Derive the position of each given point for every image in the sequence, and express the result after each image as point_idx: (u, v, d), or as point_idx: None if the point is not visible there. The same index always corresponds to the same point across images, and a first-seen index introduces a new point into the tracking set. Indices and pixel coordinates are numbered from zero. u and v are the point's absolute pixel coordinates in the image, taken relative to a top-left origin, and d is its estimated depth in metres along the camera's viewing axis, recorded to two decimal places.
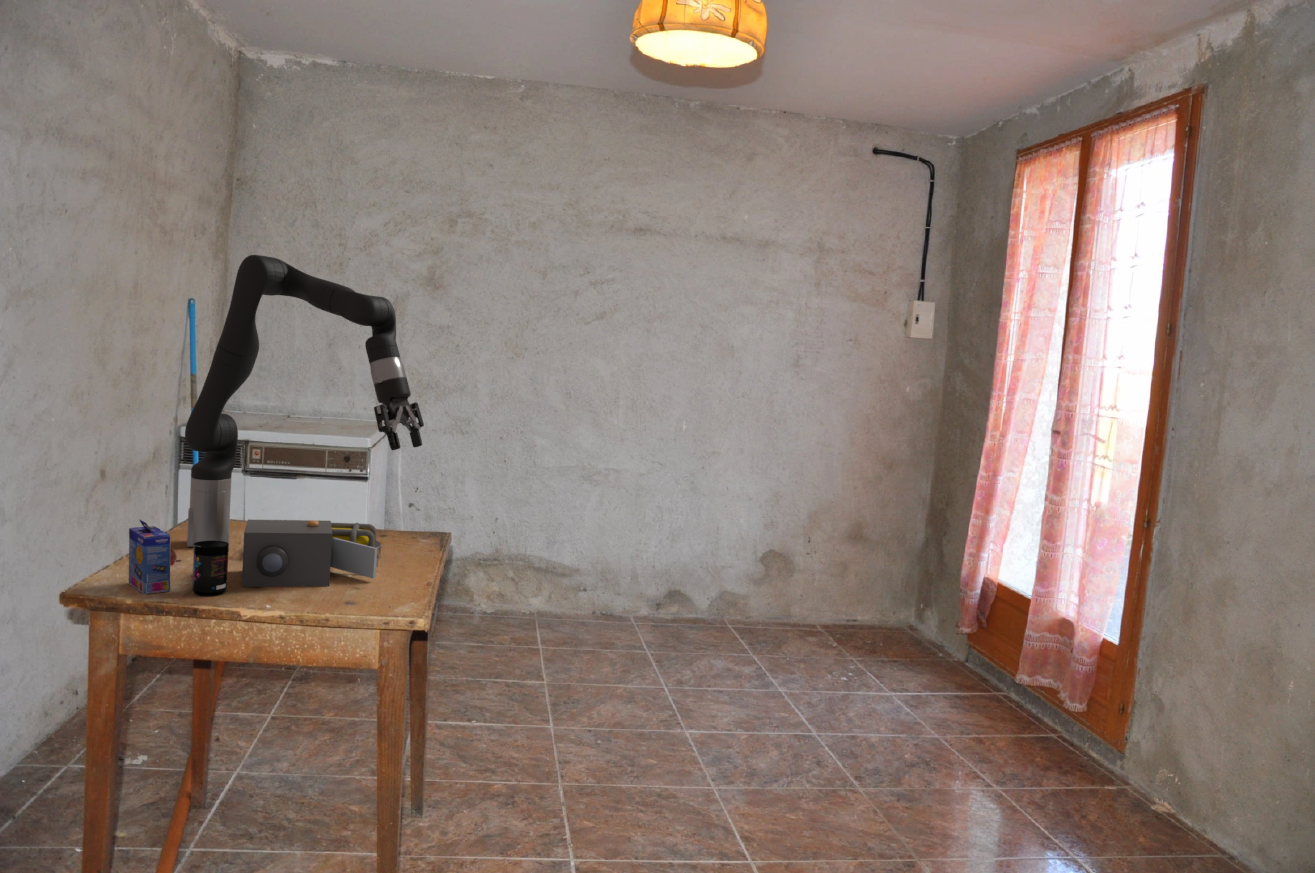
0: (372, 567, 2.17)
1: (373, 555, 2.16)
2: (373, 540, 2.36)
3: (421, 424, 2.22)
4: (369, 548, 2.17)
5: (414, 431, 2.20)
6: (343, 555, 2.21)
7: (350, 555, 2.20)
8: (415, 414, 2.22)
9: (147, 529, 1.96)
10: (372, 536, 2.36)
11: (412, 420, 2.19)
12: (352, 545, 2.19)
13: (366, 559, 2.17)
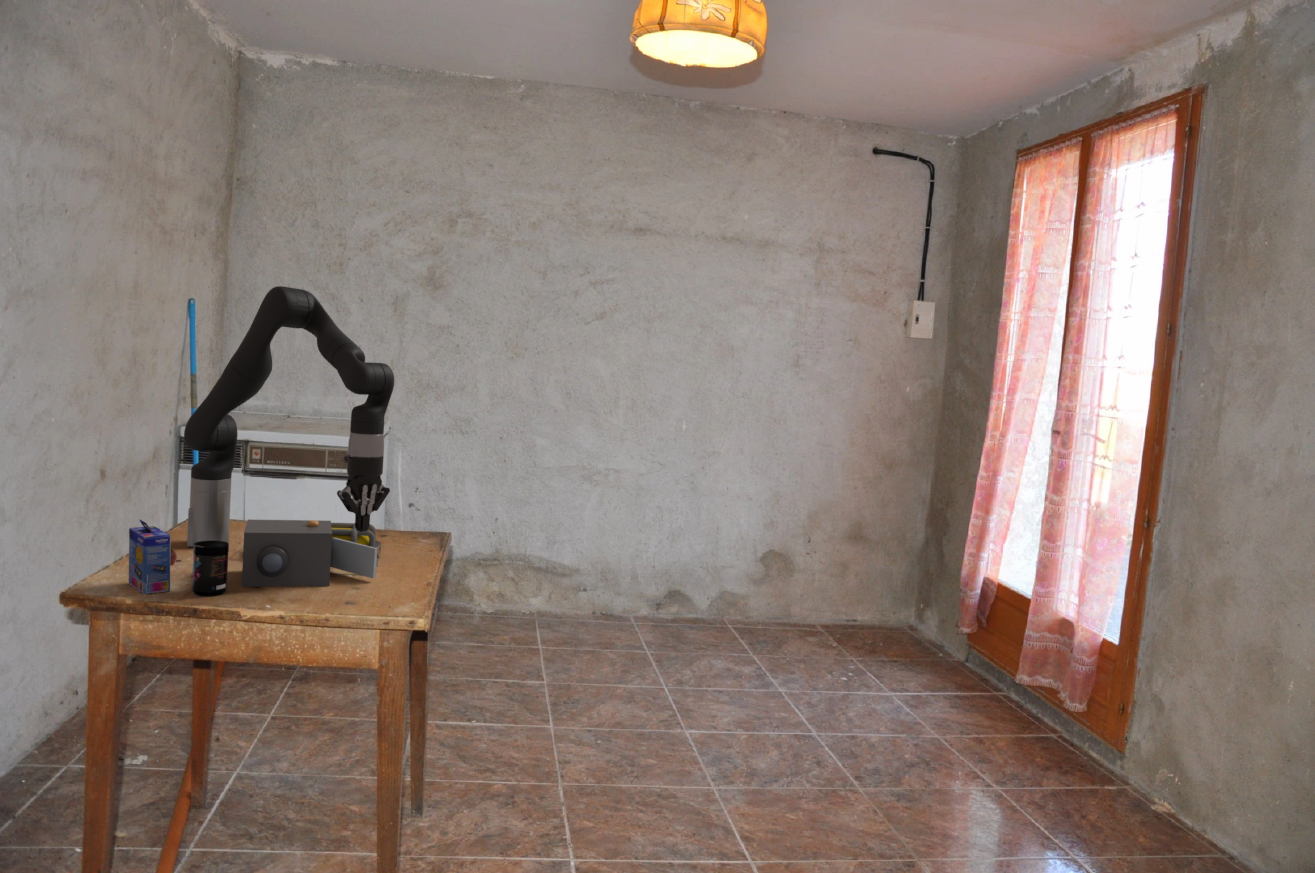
0: (372, 567, 2.17)
1: (373, 555, 2.16)
2: (374, 540, 2.36)
3: (375, 507, 2.09)
4: (369, 548, 2.17)
5: None
6: (343, 555, 2.21)
7: (350, 555, 2.20)
8: (378, 496, 2.11)
9: (147, 529, 1.96)
10: (373, 536, 2.36)
11: (369, 500, 2.08)
12: (352, 545, 2.19)
13: (366, 559, 2.17)
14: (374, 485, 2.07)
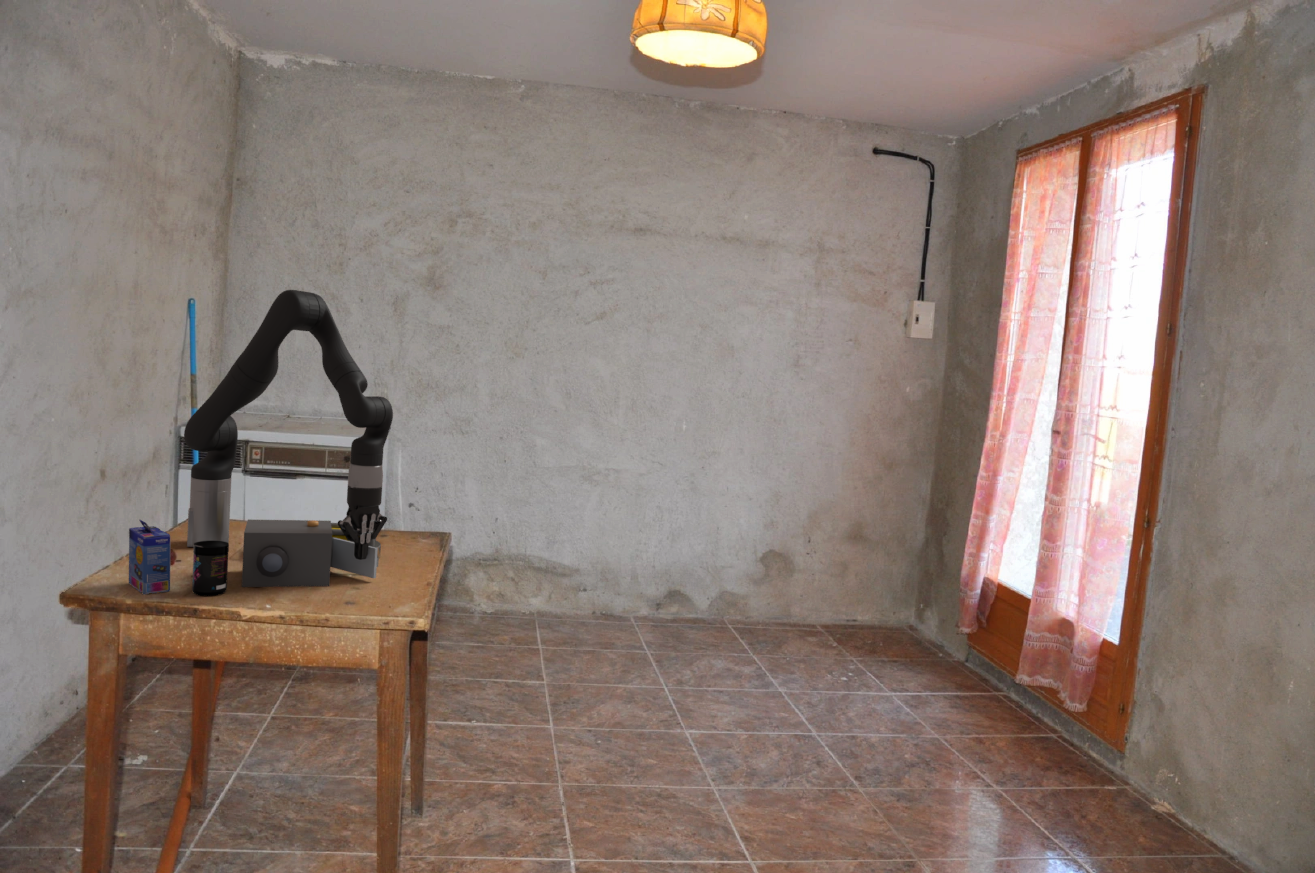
0: (372, 567, 2.17)
1: (373, 555, 2.16)
2: (373, 540, 2.36)
3: (373, 536, 2.16)
4: (369, 548, 2.17)
5: (362, 543, 2.15)
6: (343, 555, 2.21)
7: (351, 555, 2.20)
8: (376, 525, 2.18)
9: (147, 529, 1.96)
10: None
11: (368, 529, 2.15)
12: (352, 545, 2.20)
13: (366, 559, 2.18)
14: (373, 514, 2.15)
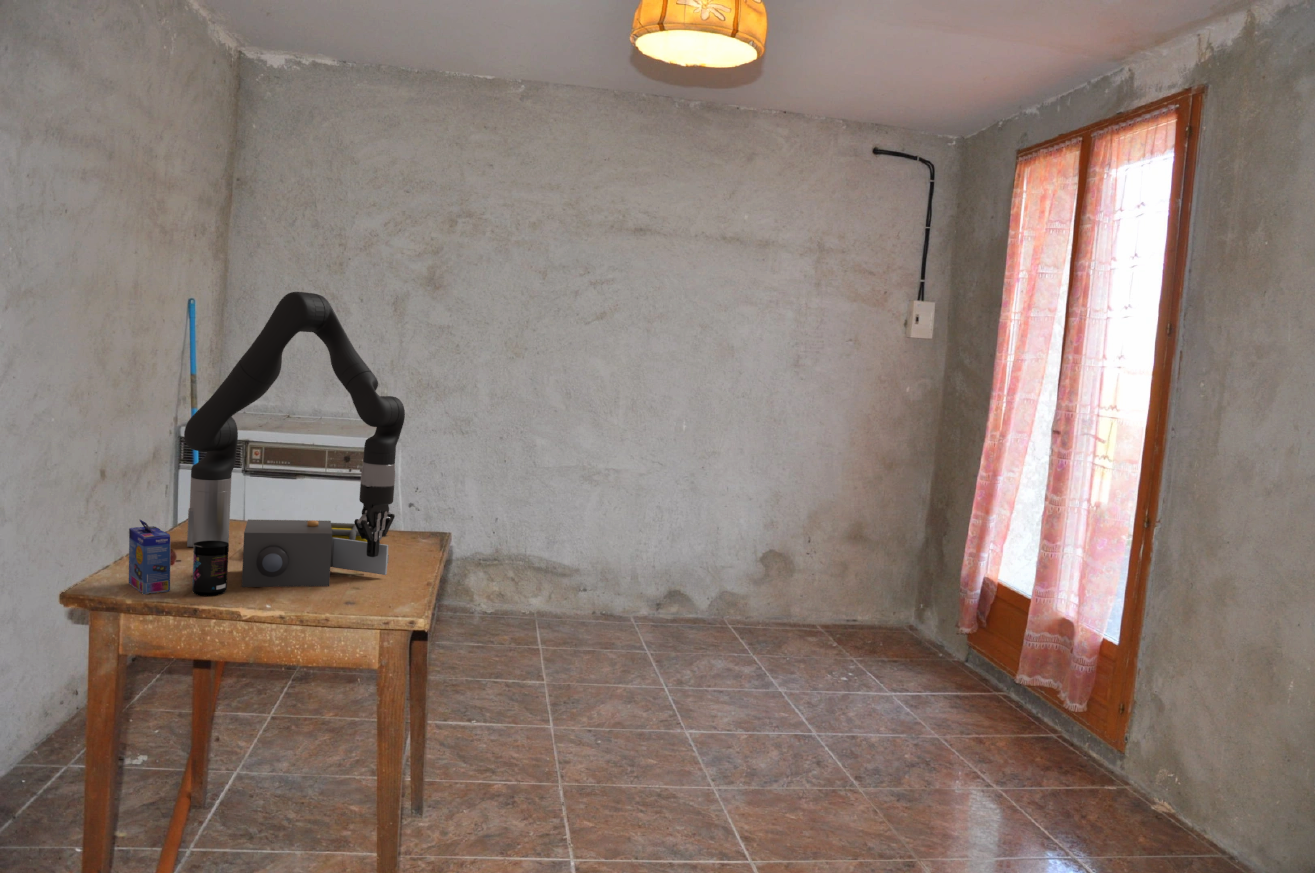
0: (384, 564, 2.20)
1: (385, 552, 2.20)
2: None
3: (384, 533, 2.20)
4: (380, 545, 2.20)
5: None
6: (346, 554, 2.22)
7: (356, 553, 2.22)
8: (385, 522, 2.21)
9: (147, 529, 1.96)
10: None
11: (380, 527, 2.18)
12: (358, 544, 2.21)
13: (376, 556, 2.21)
14: (385, 512, 2.18)
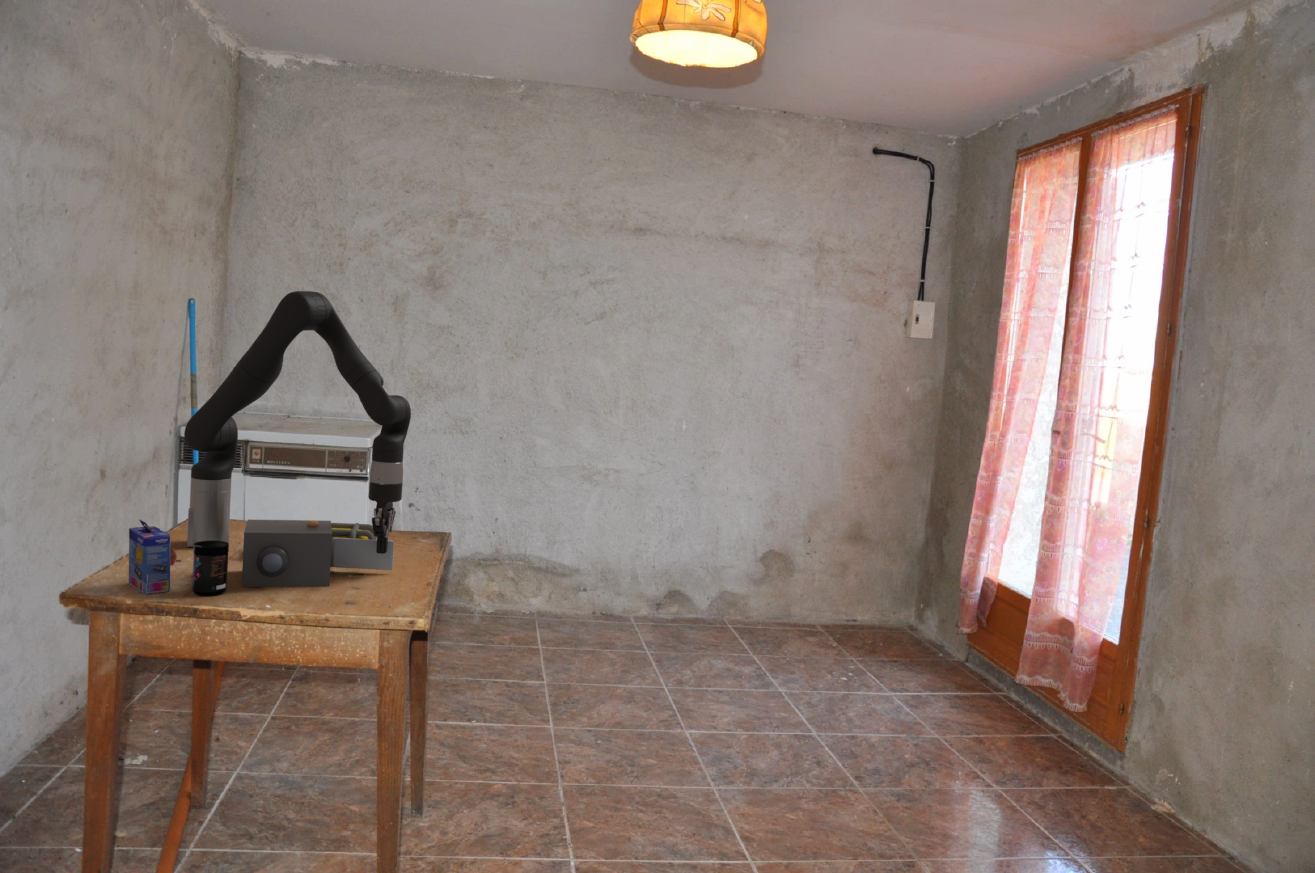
0: (391, 559, 2.25)
1: (391, 548, 2.25)
2: None
3: (390, 529, 2.24)
4: None
5: None
6: (349, 553, 2.24)
7: (360, 551, 2.24)
8: None
9: (147, 529, 1.96)
10: (372, 536, 2.35)
11: (389, 523, 2.22)
12: (362, 542, 2.24)
13: None
14: (393, 509, 2.23)
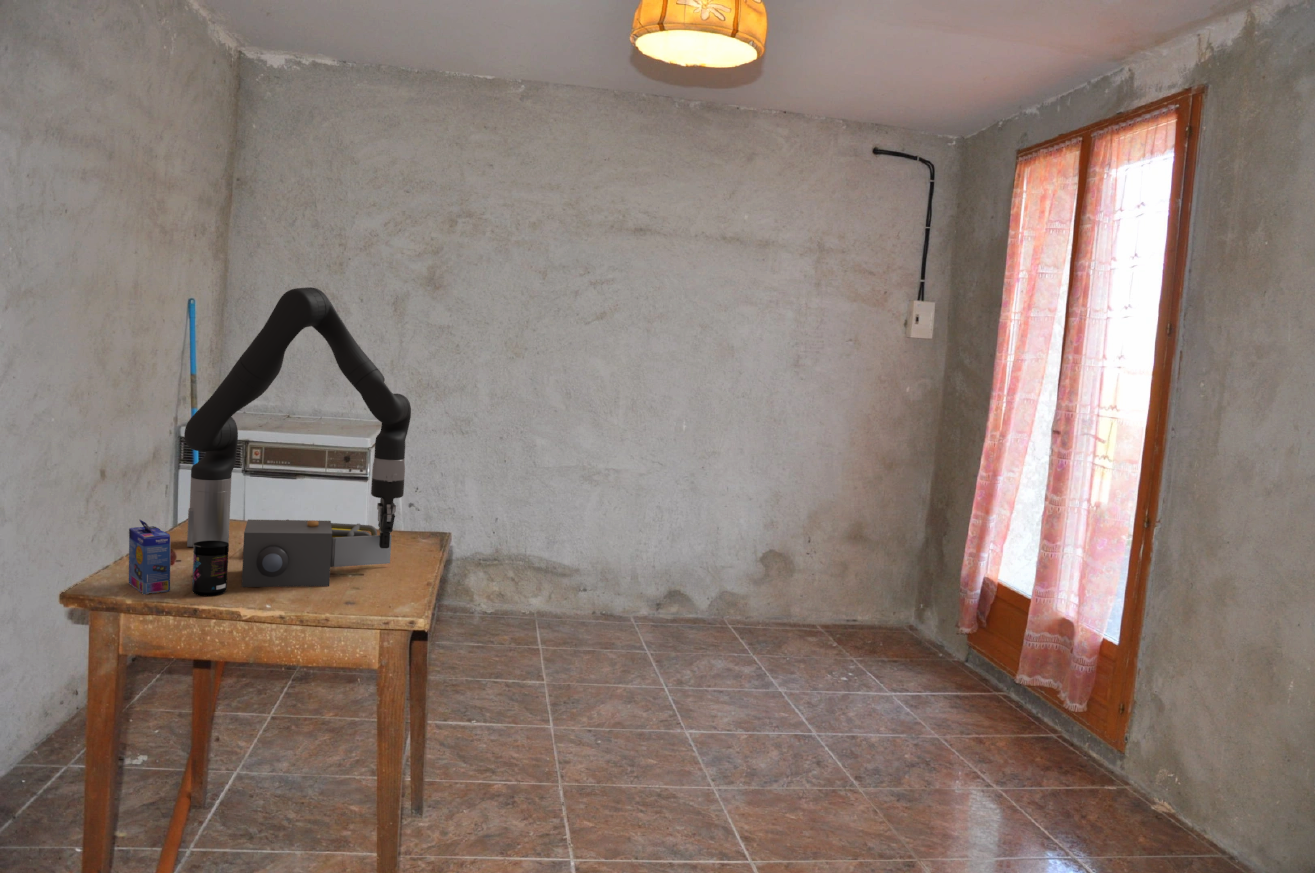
0: (388, 553, 2.31)
1: None
2: None
3: None
4: None
5: None
6: (349, 551, 2.25)
7: (360, 548, 2.27)
8: None
9: (147, 529, 1.96)
10: None
11: None
12: (362, 539, 2.27)
13: None
14: (394, 504, 2.29)
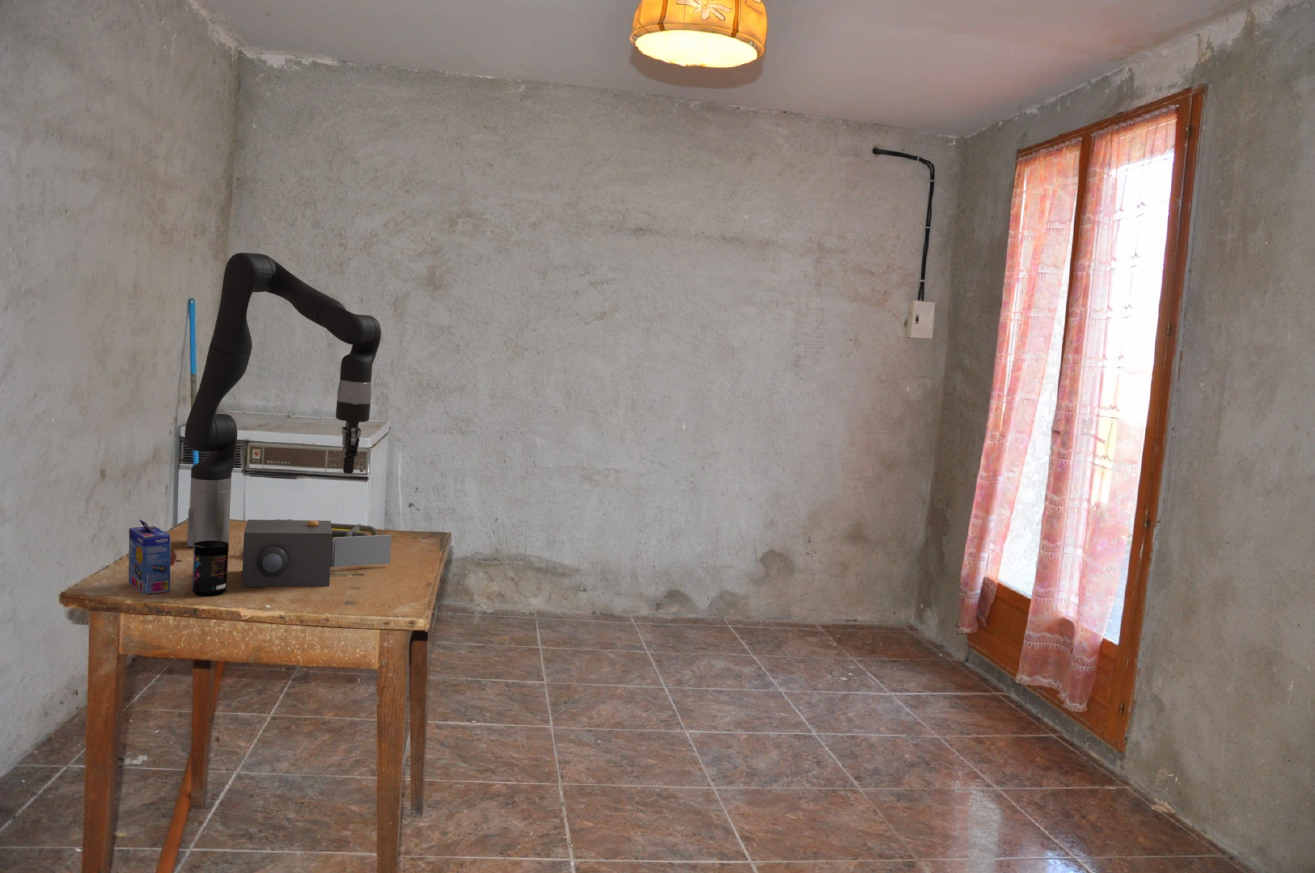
0: (388, 553, 2.31)
1: (389, 542, 2.31)
2: None
3: None
4: (384, 536, 2.30)
5: None
6: (349, 551, 2.25)
7: (360, 548, 2.27)
8: None
9: (147, 529, 1.96)
10: None
11: None
12: (362, 539, 2.27)
13: (381, 547, 2.30)
14: (359, 429, 2.23)
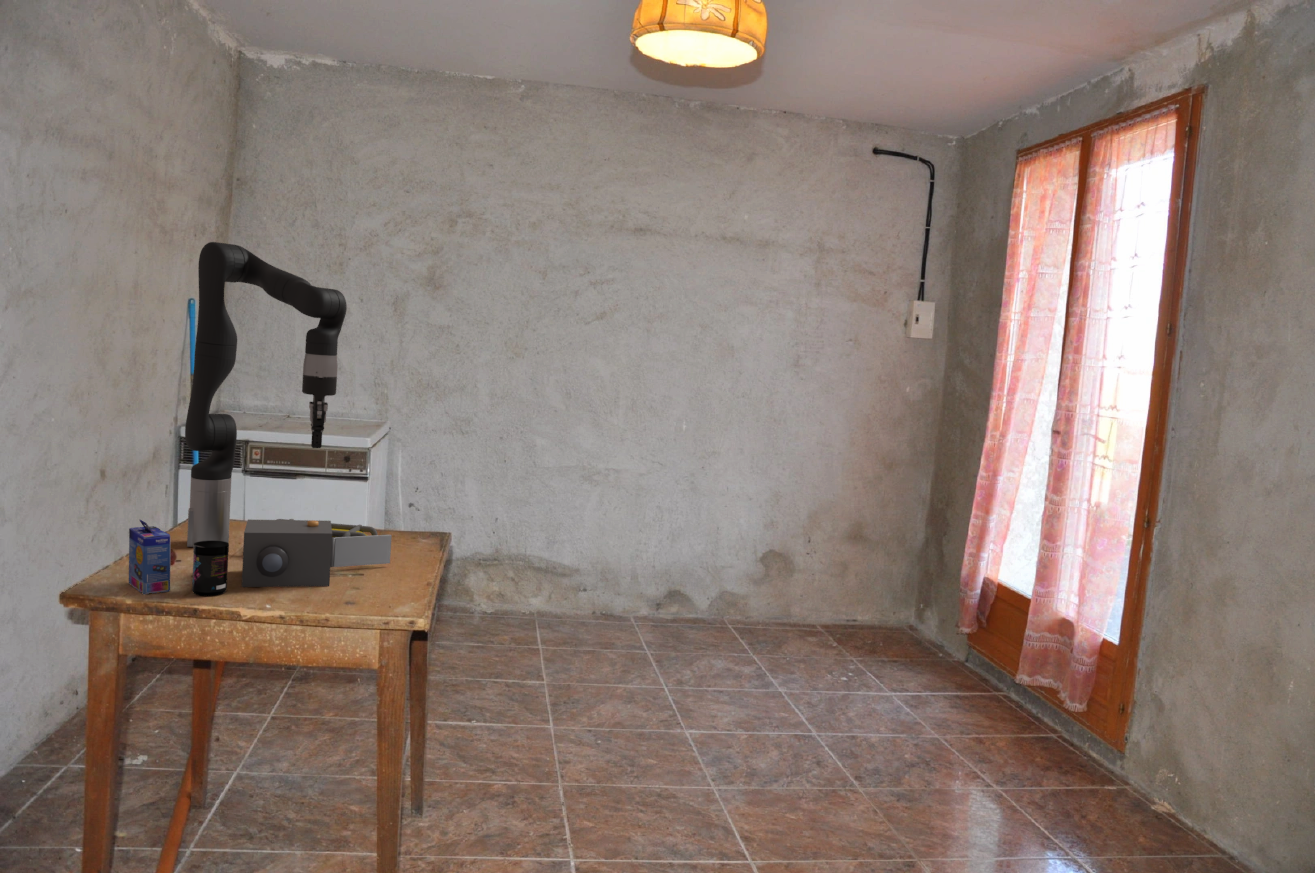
0: (388, 553, 2.31)
1: (389, 542, 2.31)
2: None
3: None
4: (384, 536, 2.30)
5: None
6: (349, 551, 2.25)
7: (360, 548, 2.27)
8: None
9: (147, 529, 1.96)
10: None
11: None
12: (362, 539, 2.27)
13: (381, 547, 2.30)
14: None
